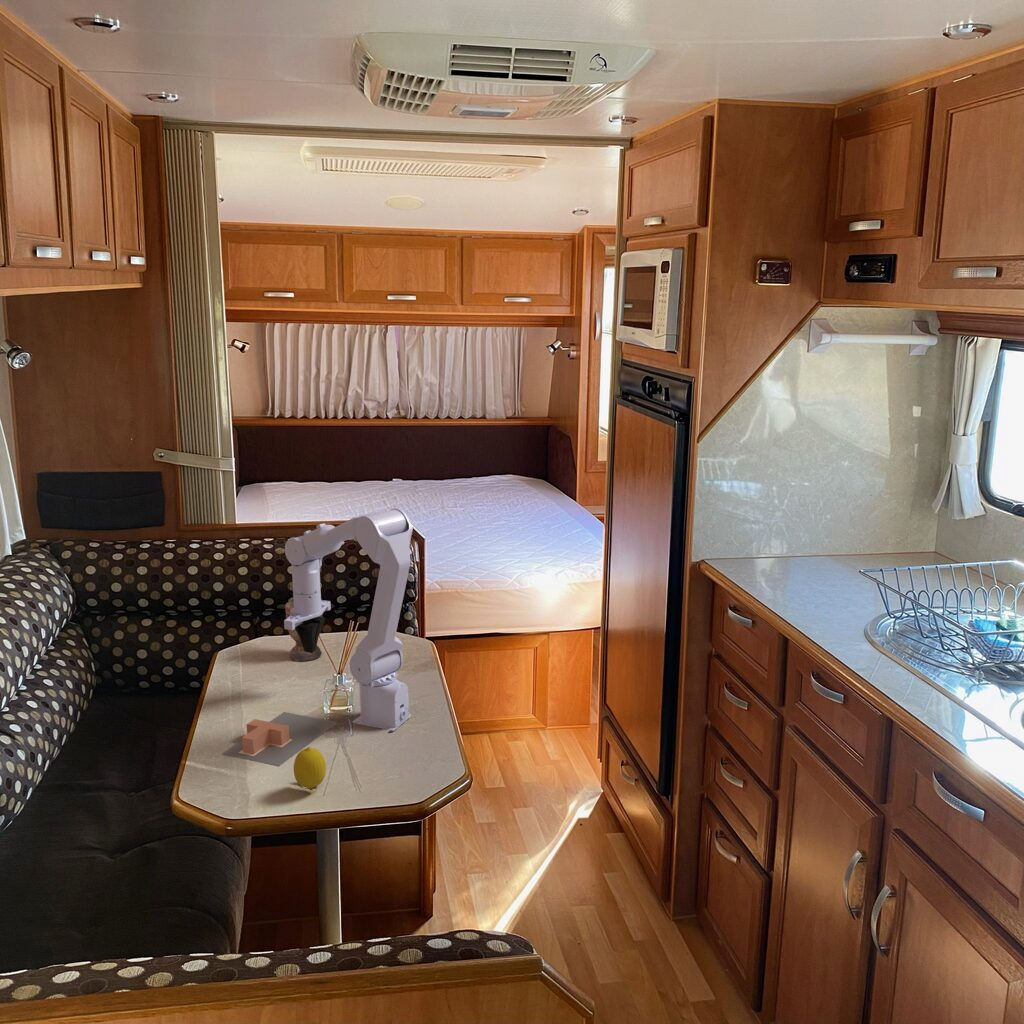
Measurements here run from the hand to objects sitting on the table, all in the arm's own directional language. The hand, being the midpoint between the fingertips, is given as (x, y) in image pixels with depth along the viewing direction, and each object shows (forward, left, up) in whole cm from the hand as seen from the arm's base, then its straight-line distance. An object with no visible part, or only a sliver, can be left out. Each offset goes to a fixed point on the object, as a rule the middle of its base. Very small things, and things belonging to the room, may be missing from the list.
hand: (309, 651), depth 209 cm
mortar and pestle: (+15, -20, -10) cm, 27 cm away
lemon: (-23, +35, -10) cm, 43 cm away
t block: (-5, +25, -9) cm, 27 cm away
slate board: (-7, +21, -10) cm, 24 cm away
